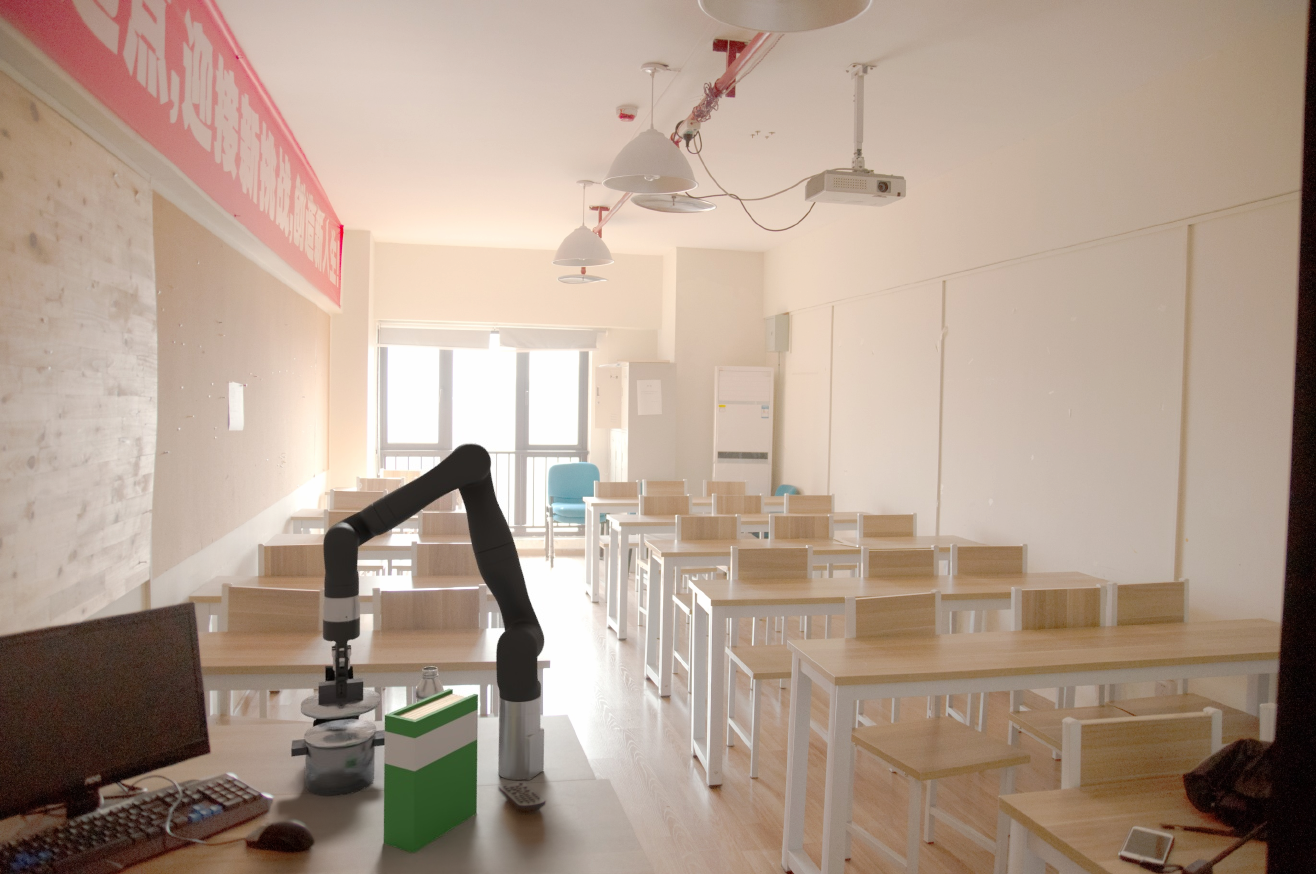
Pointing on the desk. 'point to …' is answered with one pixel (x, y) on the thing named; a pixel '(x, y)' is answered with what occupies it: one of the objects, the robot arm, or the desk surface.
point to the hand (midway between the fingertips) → (341, 695)
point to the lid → (340, 701)
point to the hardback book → (429, 769)
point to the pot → (339, 756)
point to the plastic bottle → (428, 684)
